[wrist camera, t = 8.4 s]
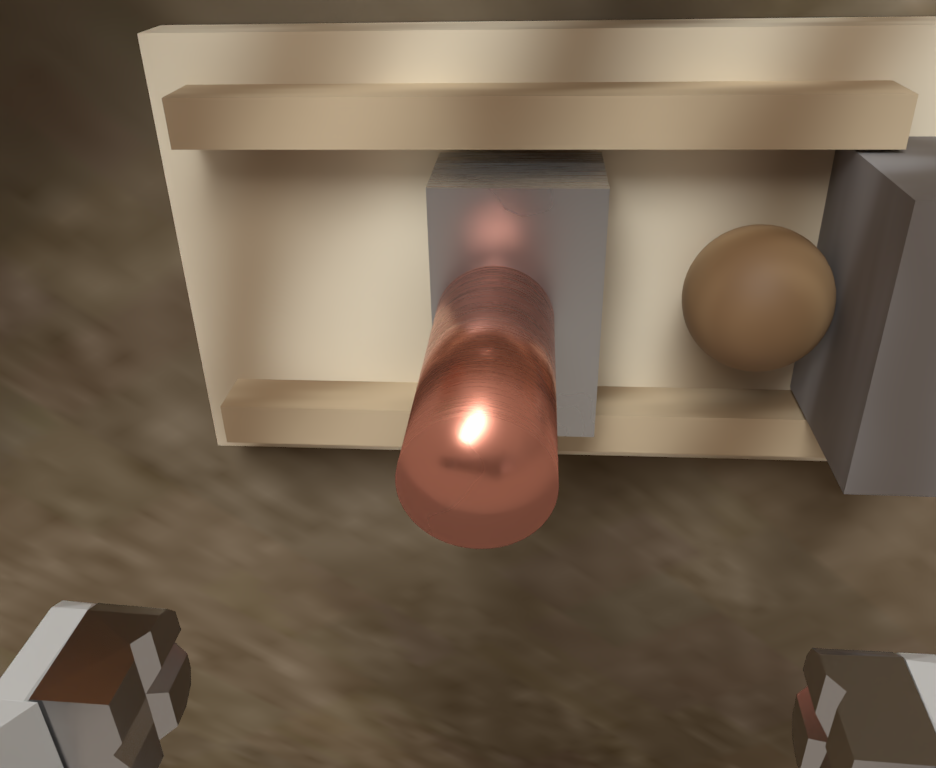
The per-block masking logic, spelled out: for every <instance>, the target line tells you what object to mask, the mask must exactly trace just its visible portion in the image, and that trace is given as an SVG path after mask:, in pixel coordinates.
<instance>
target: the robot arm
mask: <svg viewBox="0 0 936 768" xmlns="http://www.w3.org/2000/svg"><path fill="white" fill-rule="evenodd" d="M180 631H181V628H180V625H179V622H178V618H177V615H176V612H175V611H172V610H169V609H161V608H150V607H138V606H127V605H116V604H104V603H86V602H74V601H61V602H60V603H58V604H56V605H55V606H53V607H52V608H51V609H50V610H49V611H48V613H47V614H46V615H45V617H44V618H43V620H42V621H41V622H40V624H39V625H38V627H37V628H36V629H35V631H34V632H33V634H32V635H31V636H30V638H29V639H28V640H27V642H26V643H25V645H24V646H23V647H22V649H21V650H20V652H19V653H18V654H17V656H16V657H15V659H14V660H13V661H12V663H11V664H10V666H9V667H8V668H7V670H6V671H5V672H4V674H3V675H2V677H1V678H0V768H158V767H159V765H160V763H161V761H162V759H163V757H164V755H163V751H162V748H161V744H160V741H159V740H160V739H161V738H162V737H164V736H165V735H166V734H168V733H169V732H170V731H172V730H173V729H174V728H176V727H177V726H178V724H179V722H180V720H181V717H182V715H183V713H184V710H185V708H186V705H187V700H188V696H189V691H190V686H191V667H190V663H189V658H188V654H187V653H186V652H185V651H184V650H183V649H182V648H180V647H179V646H178V645H177V644H176V643H175V641H176V639H177V637H178V635H179V633H180ZM803 672H804V675H805V679H806V682H807V687H806V688H805V689H803V690H802V691H800V692H799V693H798V694H796V699H795V704H794V709H793V714H792V738H793V745H794V752H795V757H796V761H797V765H798V768H936V655H933V654H915V653H893V652H881V651H862V650H842V649H822V648H812V649H811V650H810V651H809V653H808V654H807V656H806V660H805V663H804V667H803Z"/></svg>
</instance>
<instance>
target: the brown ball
mask: <svg viewBox="0 0 936 768" xmlns="http://www.w3.org/2000/svg"><path fill="white" fill-rule="evenodd" d="M835 305H836V286H835V280H834V276H833V273H832V270H831V268H830V266H829V264H828V262H827V260H826V258H825V257H824V255H823V254H822V253H821V251H820V250H819V249H818V248H817V247H816V246H815V245H814V244H813V243H812V242H811V241H809V240H808V239H807V238H805V237H804V236H802V235H800V234H798V233H796V232H794V231H792V230H790V229H787V228H784V227H780V226H775V225H766V224H756V225H747V226H742V227H739V228H735V229H732V230H730V231H728V232H725V233H723V234H722V235H720V236H718V237H717V238H715V239H714V240H712V241H711V242H710V243H709V244H707V245H706V246H705V247H704V248H703V249H702V250H701V252H700V253H699V254H698V255H697V256H696V258H695V259H694V261H693V262H692V264H691V266H690V268H689V270H688V272H687V274H686V277H685V280H684V284H683V290H682V311H683V316H684V320H685V324H686V326H687V328H688V330H689V332H690V334H691V336H692V338H693V339H694V341H695V342H696V343H697V344H698V346H699V347H700V348H701V349H702V350H703V351H704V352H705V353H706V354H708V355H709V356H710V357H711V358H713V359H715V360H716V361H718V362H720V363H722V364H724V365H726V366H728V367H731V368H734V369H738V370H744V371H753V372H761V371H770V370H775V369H779V368H782V367H785V366H788V365H790V364H792V363H794V362H796V361H798V360H799V359H801V358H802V357H804V356H805V355H807V354H808V353H809V352H810V351H812V350H813V349H814V348H815V347H816V346H817V345H818V343H819V342H820V341H821V339H822V338H823V337H824V335H825V333H826V332H827V330H828V328H829V326H830V324H831V321H832V319H833V315H834V312H835Z"/></svg>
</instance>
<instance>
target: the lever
mask: <svg viewBox="0 0 936 768" xmlns="http://www.w3.org/2000/svg"><path fill="white" fill-rule="evenodd" d="M609 195H610V187H609V182H608V178H607V174H606V169H605V165H604V161H603V156H602V152H440V153H439V156H438V158H437V161H436V163H435V166H434V169H433V171H432V174H431V176H430V179H429V181H428V184H427V186H426V204H427V226H428V249H429V271H430V293H431V315H432V329H431V333H430V337H429V341H428V345H427V349H426V353H425V357H424V361H423V365H422V369H421V373H420V377H419V381H418V385H417V388H416V392H415V396H414V400H413V404H412V408H411V412H410V416H409V420H408V424H407V428H406V432H405V436H404V440H403V444H402V448H401V452H400V456H399V459H398V463H397V468H396V474H395V484H396V490H397V494H398V497H399V500H400V502H401V504H402V507H403V508H404V510H405V511H406V513H407V514H408V516H409V517H410V518H411V519H412V520H413V522H414V523H415V524H417V525H418V526H419V527H420V528H421V529H422V530H424V531H425V532H427V533H428V534H430V535H431V536H433V537H435V538H437V539H439V540H441V541H444V542H446V543H449V544H452V545H455V546H460V547H465V548H474V549H489V548H498V547H502V546H507V545H510V544H513V543H516V542H518V541H520V540H522V539H524V538H526V537H528V536H529V535H531V534H532V533H534V532H535V531H536V530H537V529H539V528H540V527H541V526H542V525H543V524H544V523H545V521H546V520H547V519H548V517H549V516H550V514H551V513H552V511H553V509H554V507H555V504H556V501H557V497H558V491H559V476H558V440H557V436H569V437H594V432H595V416H596V400H597V384H598V369H599V353H600V337H601V321H602V306H603V290H604V274H605V258H606V243H607V227H608V211H609Z"/></svg>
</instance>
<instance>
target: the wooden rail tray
mask: <svg viewBox="0 0 936 768" xmlns="http://www.w3.org/2000/svg"><path fill="white" fill-rule="evenodd" d="M137 35H138V40H139V46H140V51H141V56H142V61H143V66H144V71H145V76H146V81H147V86H148V91H149V96H150V101H151V106H152V112H153V117H154V122H155V127H156V132H157V137H158V142H159V147H160V152H161V157H162V162H163V167H164V173H165V178H166V183H167V188H168V193H169V198H170V203H171V208H172V213H173V218H174V223H175V228H176V233H177V239H178V244H179V249H180V254H181V259H182V264H183V269H184V274H185V279H186V284H187V289H188V294H189V300H190V305H191V310H192V315H193V320H194V325H195V330H196V335H197V340H198V345H199V350H200V355H201V361H202V366H203V371H204V376H205V381H206V386H207V391H208V396H209V401H210V406H211V411H212V416H213V421H214V427H215V432H216V437H217V442H218V445H229V446H267V447H306V448H344V449H382V450H401V448H402V444H403V440H404V436H405V432H406V428H407V424H408V420H409V416H410V412H411V408H412V404H413V400H414V396H415V392H416V388H417V385H418V381H419V377H420V373H421V369H422V365H423V361H424V357H425V353H426V349H427V345H428V341H429V337H430V333H431V329H432V315H431V293H430V271H429V249H428V226H427V204H426V186H427V184H428V181H429V179H430V176H431V174H432V171H433V169H434V166H435V163H436V161H437V158H438V156H439V153H440V152H602V156H603V161H604V165H605V169H606V174H607V178H608V182H609V187H610V195H609V211H608V227H607V243H606V258H605V274H604V290H603V306H602V321H601V337H600V353H599V369H598V384H597V400H596V416H595V432H594V437H569V436H557V440H558V454H574V455H612V456H651V457H689V458H727V459H766V460H804V461H827V462H828V464H829V466H830V468H831V470H832V472H833V474H834V476H835V478H836V480H837V482H838V484H839V486H840V488H841V490H842V492H843V494H856V495H891V496H925V497H936V16H914V17H827V18H740V19H653V20H567V21H480V22H393V23H306V24H220V25H160V26H157V27H154V28H151V29H148V30H146V31H143V32H140V33H137ZM756 224H766V225H775V226H780V227H784V228H787V229H790V230H792V231H794V232H796V233H798V234H800V235H802V236H804V237H805V238H807V239H808V240H809V241H811V242H812V243H813V244H814V245H815V246H816V247H817V248H818V249H819V250H820V251H821V253H822V254H823V255H824V257H825V258H826V260H827V262H828V264H829V266H830V268H831V270H832V273H833V276H834V280H835V286H836V305H835V312H834V315H833V319H832V321H831V324H830V326H829V328H828V330H827V332H826V333H825V335H824V337H823V338H822V339H821V341H820V342H819V343H818V345H817V346H816V347H815V348H814V349H813V350H812V351H810V352H809V353H808V354H807V355H805V356H804V357H802V358H801V359H799V360H798V361H796V362H794V363H792V364H790V365H788V366H785V367H782V368H779V369H775V370H770V371H761V372H753V371H744V370H738V369H734V368H731V367H728V366H726V365H724V364H722V363H720V362H718V361H716V360H715V359H713V358H711V357H710V356H709V355H708V354H706V353H705V352H704V351H703V350H702V349H701V348H700V347H699V346H698V344H697V343H696V342H695V341H694V339H693V338H692V336H691V334H690V332H689V330H688V328H687V326H686V324H685V320H684V316H683V311H682V290H683V284H684V280H685V277H686V274H687V272H688V270H689V268H690V266H691V264H692V262H693V261H694V259H695V258H696V256H697V255H698V254H699V253H700V252H701V250H702V249H703V248H704V247H705V246H706V245H707V244H709V243H710V242H711V241H712V240H714V239H715V238H717V237H718V236H720V235H722V234H723V233H725V232H728V231H730V230H732V229H735V228H739V227H742V226H747V225H756Z"/></svg>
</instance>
